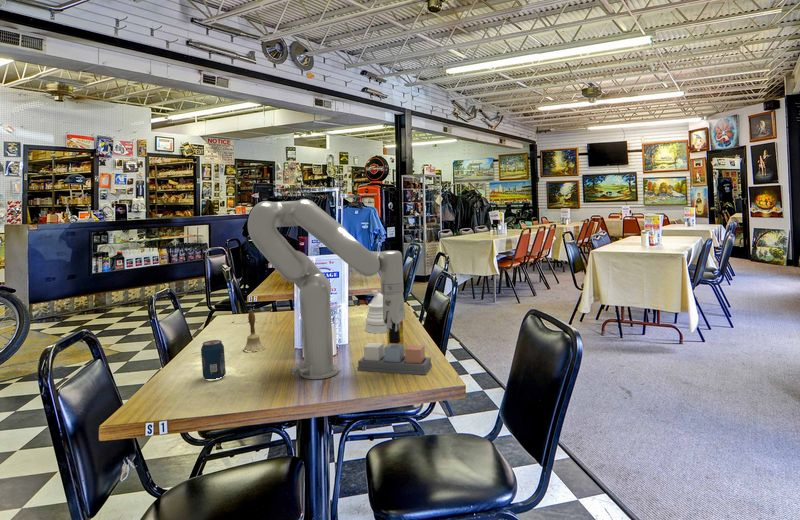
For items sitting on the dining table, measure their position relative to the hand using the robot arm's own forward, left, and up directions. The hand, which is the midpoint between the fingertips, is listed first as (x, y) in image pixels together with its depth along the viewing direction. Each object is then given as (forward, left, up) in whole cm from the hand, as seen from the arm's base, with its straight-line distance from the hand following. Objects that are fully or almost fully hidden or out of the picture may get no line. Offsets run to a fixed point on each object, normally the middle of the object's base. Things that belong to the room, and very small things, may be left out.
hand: (394, 342), depth 155 cm
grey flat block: (0, 0, -9) cm, 9 cm away
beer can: (+14, +15, -9) cm, 22 cm away
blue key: (0, 0, -6) cm, 6 cm away
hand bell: (-22, +59, -9) cm, 64 cm away
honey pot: (+31, +44, -9) cm, 55 cm away
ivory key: (-4, +6, -6) cm, 9 cm away
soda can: (-46, +37, -9) cm, 60 cm away
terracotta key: (+3, -6, -6) cm, 9 cm away
